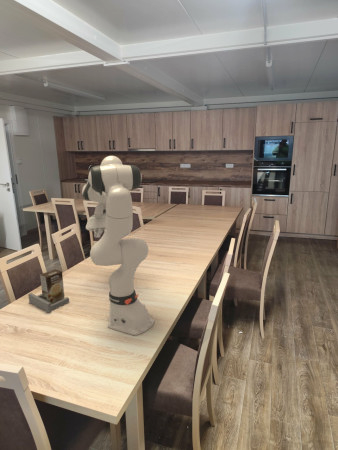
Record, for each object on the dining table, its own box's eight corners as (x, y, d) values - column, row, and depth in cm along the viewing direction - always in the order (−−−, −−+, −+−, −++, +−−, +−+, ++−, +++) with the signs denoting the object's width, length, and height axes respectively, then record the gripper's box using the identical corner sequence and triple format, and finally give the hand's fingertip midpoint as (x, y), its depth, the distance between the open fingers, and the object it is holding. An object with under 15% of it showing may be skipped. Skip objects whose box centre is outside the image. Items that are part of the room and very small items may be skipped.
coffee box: (49, 306, 151) (46, 277, 147) (42, 302, 154) (39, 274, 150) (65, 299, 158) (62, 271, 154) (58, 295, 162) (55, 268, 158)
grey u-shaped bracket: (70, 302, 154) (69, 294, 153) (48, 313, 144) (47, 304, 143) (50, 293, 164) (49, 285, 163) (29, 302, 155) (28, 293, 153)
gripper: (86, 213, 170) (80, 236, 166) (110, 210, 158) (105, 234, 154) (94, 217, 175) (89, 239, 171) (118, 214, 163) (113, 238, 158)
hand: (96, 237), depth 162 cm, fingers closed
